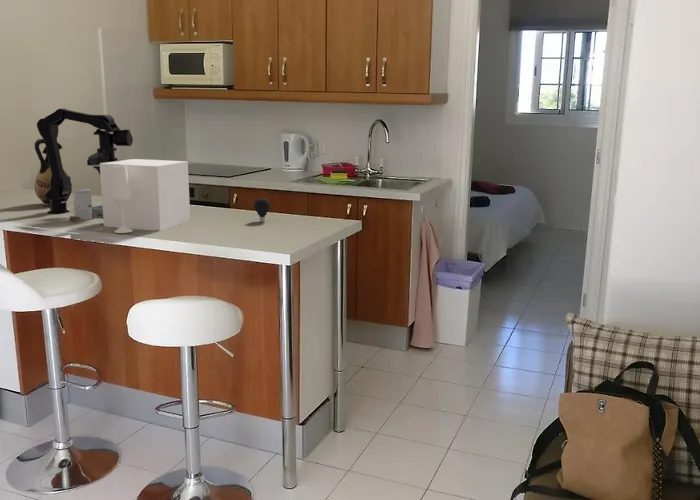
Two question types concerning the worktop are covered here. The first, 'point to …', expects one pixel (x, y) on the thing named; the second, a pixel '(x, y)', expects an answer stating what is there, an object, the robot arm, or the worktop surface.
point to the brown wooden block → (73, 218)
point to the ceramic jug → (44, 175)
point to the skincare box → (82, 203)
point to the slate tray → (98, 210)
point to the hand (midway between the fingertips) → (109, 183)
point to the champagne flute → (121, 193)
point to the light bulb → (262, 208)
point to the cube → (148, 194)
